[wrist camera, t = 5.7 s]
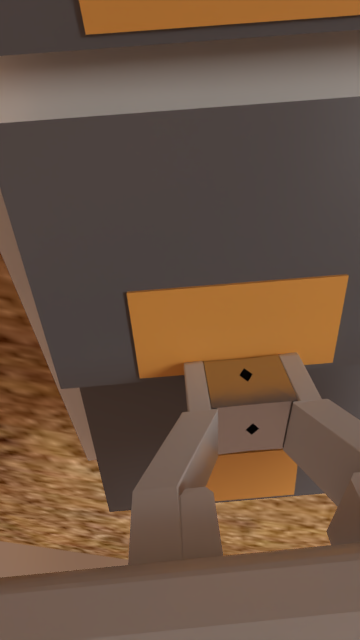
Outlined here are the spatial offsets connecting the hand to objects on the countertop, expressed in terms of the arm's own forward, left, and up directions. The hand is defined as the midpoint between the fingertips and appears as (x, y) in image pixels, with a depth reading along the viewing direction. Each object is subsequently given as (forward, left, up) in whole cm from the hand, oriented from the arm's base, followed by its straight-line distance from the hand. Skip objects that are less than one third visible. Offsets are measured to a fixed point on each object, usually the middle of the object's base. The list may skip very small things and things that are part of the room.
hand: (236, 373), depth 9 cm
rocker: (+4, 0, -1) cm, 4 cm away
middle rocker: (-3, 0, -1) cm, 3 cm away
